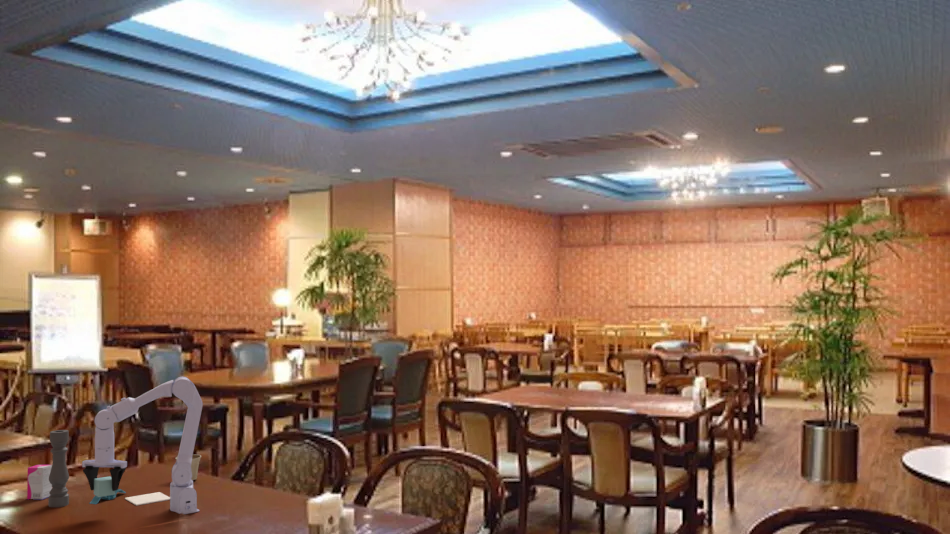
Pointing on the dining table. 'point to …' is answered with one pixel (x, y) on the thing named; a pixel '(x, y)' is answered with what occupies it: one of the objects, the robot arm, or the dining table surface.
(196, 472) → the flower pot
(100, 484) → the teal cube
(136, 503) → the mat
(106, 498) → the flying bird
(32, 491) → the supplement box
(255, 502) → the dining table surface
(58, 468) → the candle holder
